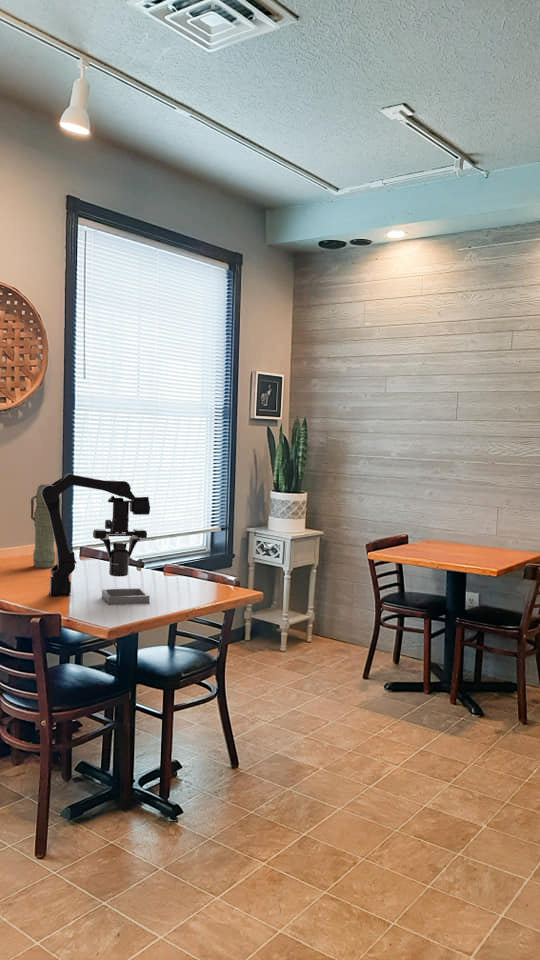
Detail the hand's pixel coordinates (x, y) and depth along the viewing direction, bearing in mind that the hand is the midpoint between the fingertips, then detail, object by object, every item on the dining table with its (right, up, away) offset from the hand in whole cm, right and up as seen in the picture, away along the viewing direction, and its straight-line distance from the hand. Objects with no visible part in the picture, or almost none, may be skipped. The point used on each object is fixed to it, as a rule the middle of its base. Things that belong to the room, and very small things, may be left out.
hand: (119, 557), depth 283 cm
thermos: (-42, -9, +49) cm, 65 cm away
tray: (+4, -14, -11) cm, 18 cm away
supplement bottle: (0, -7, 0) cm, 7 cm away
